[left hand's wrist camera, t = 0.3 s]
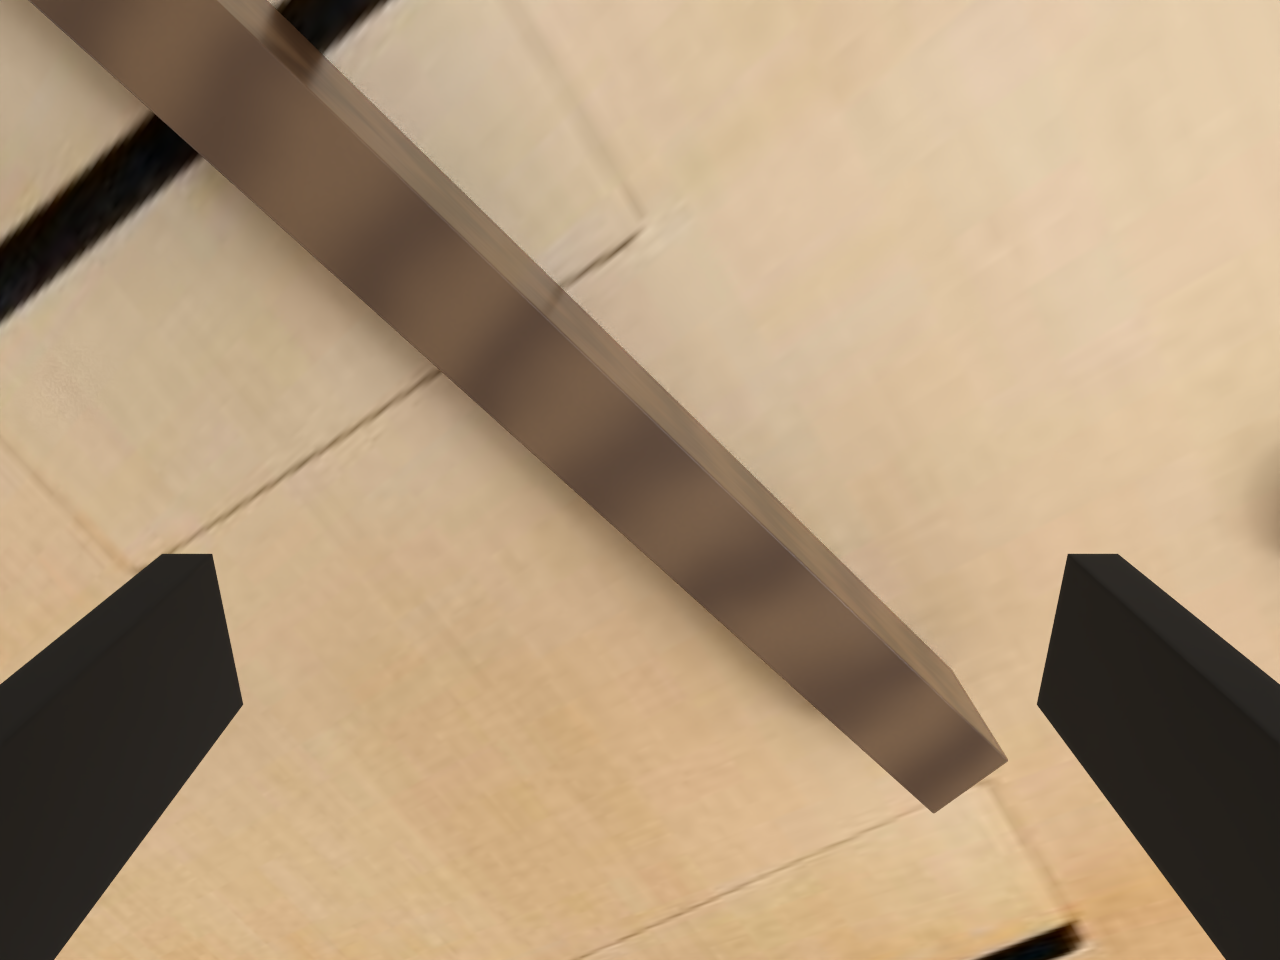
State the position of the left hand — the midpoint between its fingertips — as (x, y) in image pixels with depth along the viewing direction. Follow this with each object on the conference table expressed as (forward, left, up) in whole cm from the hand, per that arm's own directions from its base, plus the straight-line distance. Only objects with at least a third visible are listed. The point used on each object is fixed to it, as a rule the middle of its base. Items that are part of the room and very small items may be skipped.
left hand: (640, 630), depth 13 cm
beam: (-4, -9, -27) cm, 29 cm away
